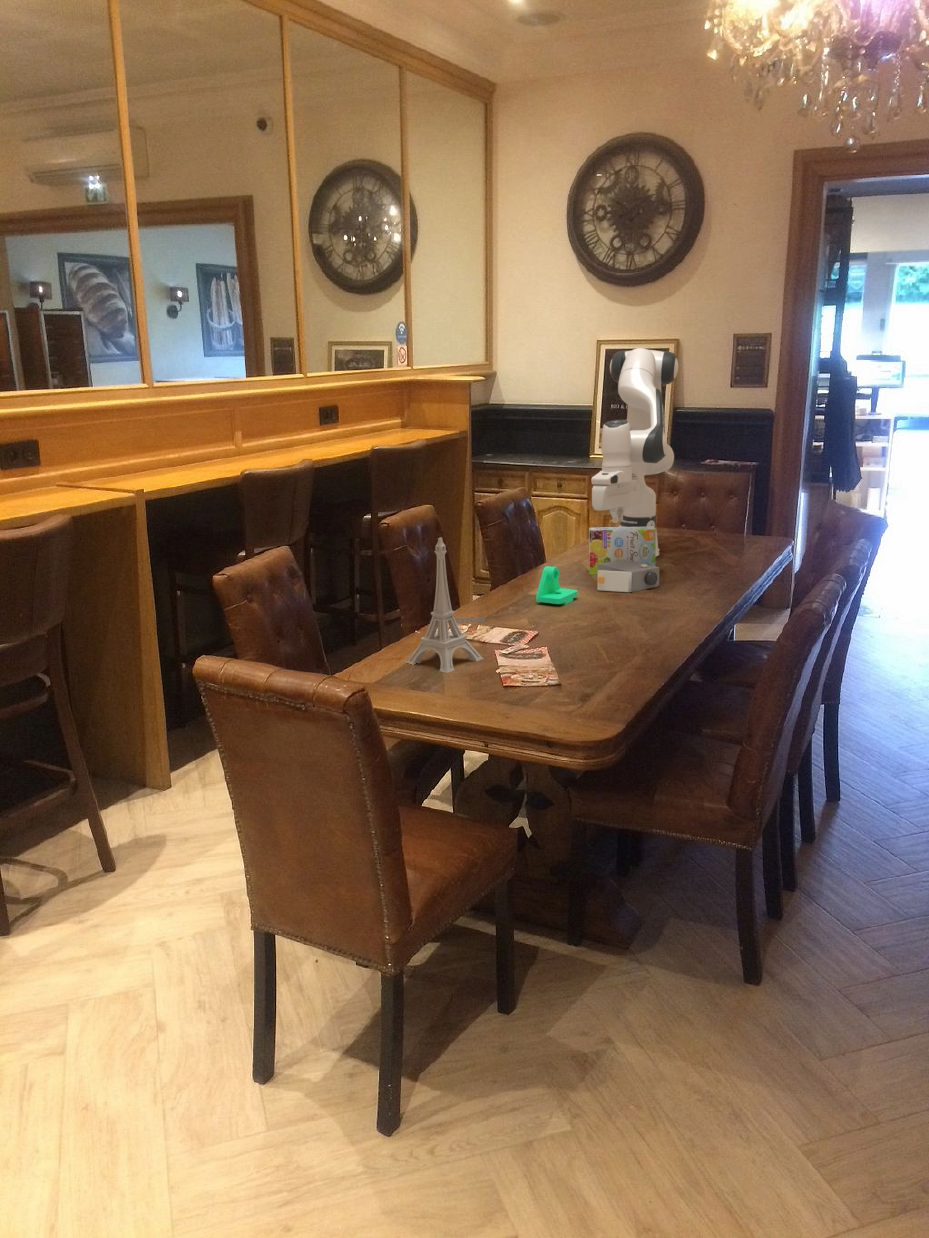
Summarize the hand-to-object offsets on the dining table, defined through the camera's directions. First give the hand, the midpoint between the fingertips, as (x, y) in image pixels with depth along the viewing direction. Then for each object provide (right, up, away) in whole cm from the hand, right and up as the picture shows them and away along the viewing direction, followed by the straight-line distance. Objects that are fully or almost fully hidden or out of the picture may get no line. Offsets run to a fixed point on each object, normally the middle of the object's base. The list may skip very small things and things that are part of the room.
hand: (617, 522), depth 297 cm
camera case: (+5, -18, +10) cm, 21 cm away
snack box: (+5, -14, +26) cm, 30 cm away
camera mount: (-19, -24, -8) cm, 32 cm away
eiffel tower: (-51, -39, -60) cm, 88 cm away
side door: (-1, -21, +1) cm, 21 cm away
